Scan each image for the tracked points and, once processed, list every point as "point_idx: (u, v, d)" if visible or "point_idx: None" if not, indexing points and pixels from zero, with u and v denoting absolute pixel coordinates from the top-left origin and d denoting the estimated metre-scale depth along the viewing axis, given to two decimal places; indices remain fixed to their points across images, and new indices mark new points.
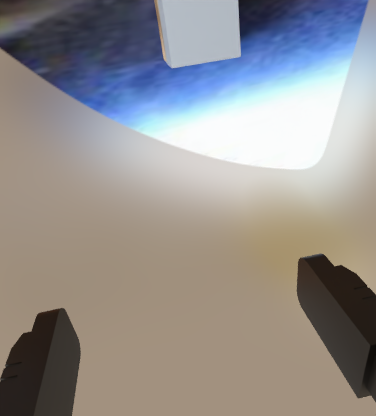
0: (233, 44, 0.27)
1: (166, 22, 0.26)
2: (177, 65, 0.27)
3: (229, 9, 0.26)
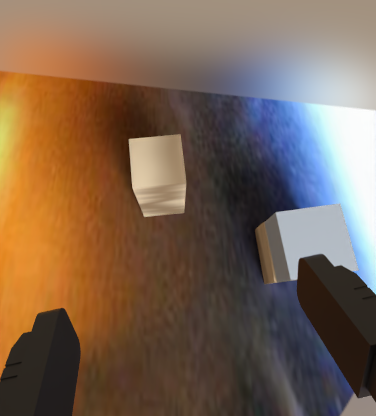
0: (330, 211, 0.29)
1: None
2: (355, 264, 0.28)
3: (304, 216, 0.29)
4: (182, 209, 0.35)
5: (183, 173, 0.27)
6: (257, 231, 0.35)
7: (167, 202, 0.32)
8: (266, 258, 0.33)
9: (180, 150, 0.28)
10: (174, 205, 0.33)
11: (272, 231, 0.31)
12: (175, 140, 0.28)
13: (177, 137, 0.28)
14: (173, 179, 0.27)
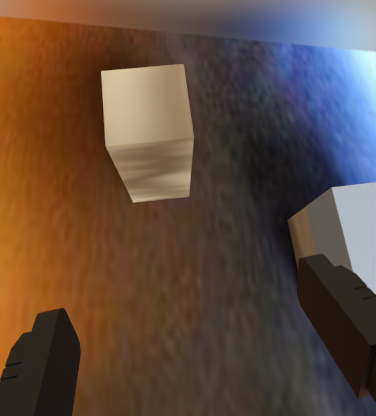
0: None
1: None
2: None
3: None
4: (186, 190, 0.25)
5: (189, 123, 0.17)
6: (292, 222, 0.25)
7: (164, 178, 0.22)
8: None
9: (184, 88, 0.17)
10: (175, 182, 0.23)
11: (321, 219, 0.20)
12: (176, 73, 0.18)
13: (179, 68, 0.18)
14: (173, 132, 0.17)
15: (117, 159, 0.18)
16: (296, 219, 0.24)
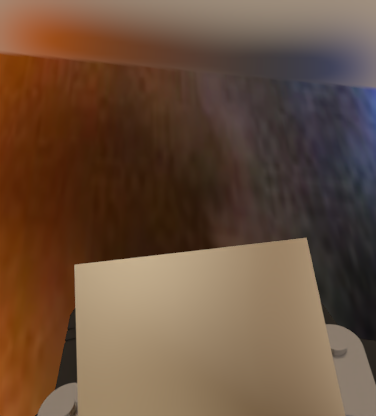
0: None
1: None
2: None
3: None
4: None
5: None
6: None
7: None
8: None
9: (316, 320, 0.06)
10: None
11: None
12: (290, 269, 0.06)
13: (295, 253, 0.06)
14: None
15: None
16: None
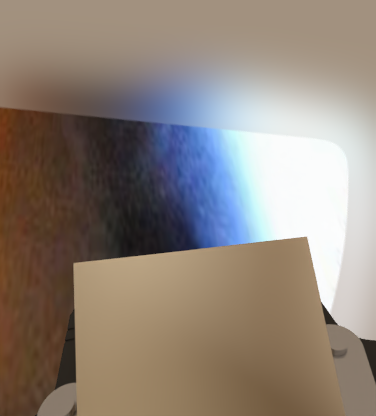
0: None
1: None
2: None
3: None
4: None
5: None
6: None
7: None
8: None
9: (316, 320, 0.06)
10: None
11: None
12: (290, 268, 0.06)
13: (295, 252, 0.06)
14: None
15: None
16: None
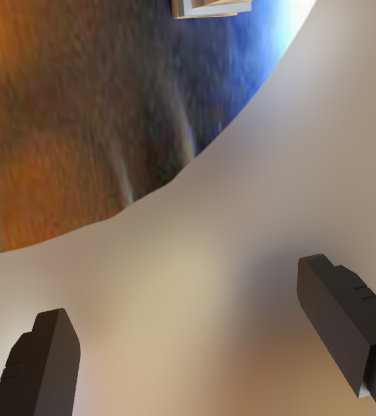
0: None
1: (214, 12, 0.28)
2: (249, 4, 0.29)
3: None
4: (246, 1, 0.27)
5: None
6: None
7: None
8: None
9: None
10: None
11: None
12: None
13: None
14: None
15: (219, 1, 0.21)
16: None
